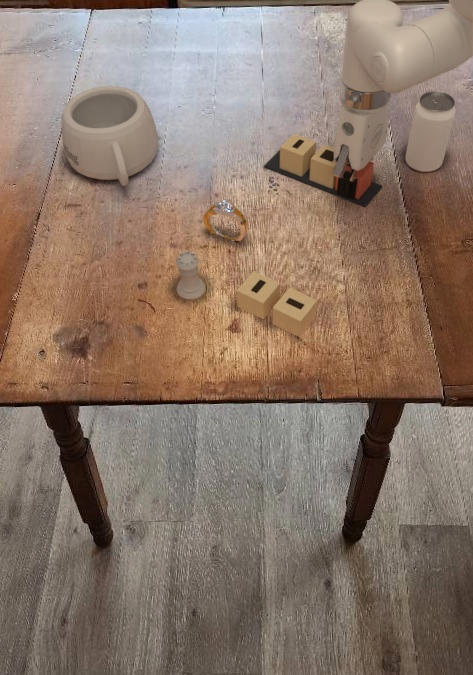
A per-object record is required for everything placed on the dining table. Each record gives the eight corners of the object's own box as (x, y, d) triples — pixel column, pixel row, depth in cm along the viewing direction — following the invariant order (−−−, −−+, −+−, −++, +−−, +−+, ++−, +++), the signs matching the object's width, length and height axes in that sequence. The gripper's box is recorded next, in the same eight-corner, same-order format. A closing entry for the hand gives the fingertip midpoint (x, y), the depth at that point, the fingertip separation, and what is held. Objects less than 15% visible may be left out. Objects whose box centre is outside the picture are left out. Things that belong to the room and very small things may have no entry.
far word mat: (382, 187, 115) (386, 163, 111) (365, 207, 112) (369, 183, 108) (281, 149, 122) (282, 125, 119) (263, 167, 120) (263, 143, 116)
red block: (370, 184, 115) (374, 162, 111) (358, 199, 113) (361, 177, 109) (347, 175, 117) (350, 153, 113) (334, 190, 115) (336, 168, 111)
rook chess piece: (195, 279, 103) (191, 241, 97) (212, 296, 101) (209, 258, 95) (171, 292, 102) (165, 254, 96) (187, 310, 100) (182, 273, 93)
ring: (250, 242, 108) (249, 204, 102) (240, 255, 106) (238, 217, 100) (212, 228, 110) (209, 190, 104) (202, 241, 109) (198, 202, 102)
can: (437, 149, 121) (451, 88, 112) (446, 172, 117) (462, 111, 108) (401, 151, 121) (412, 90, 111) (409, 174, 117) (422, 113, 108)
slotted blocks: (359, 338, 95) (363, 316, 91) (339, 368, 92) (342, 346, 89) (241, 282, 103) (240, 259, 99) (219, 308, 100) (217, 285, 96)
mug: (61, 139, 126) (47, 91, 119) (148, 120, 129) (141, 72, 121) (80, 212, 114) (66, 163, 106) (176, 190, 116) (170, 141, 109)
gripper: (361, 126, 95) (349, 224, 109) (413, 70, 103) (395, 167, 118) (315, 110, 98) (308, 207, 112) (369, 56, 106) (356, 153, 120)
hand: (353, 186), depth 115 cm, fingers closed on red block, 4 cm apart
